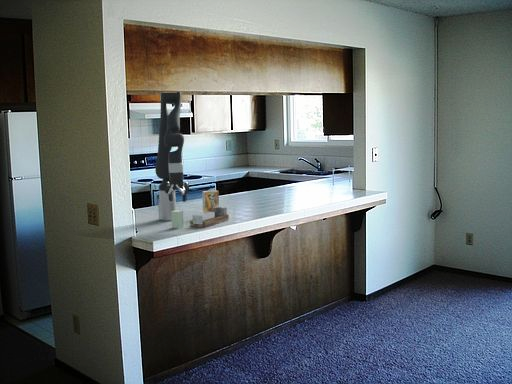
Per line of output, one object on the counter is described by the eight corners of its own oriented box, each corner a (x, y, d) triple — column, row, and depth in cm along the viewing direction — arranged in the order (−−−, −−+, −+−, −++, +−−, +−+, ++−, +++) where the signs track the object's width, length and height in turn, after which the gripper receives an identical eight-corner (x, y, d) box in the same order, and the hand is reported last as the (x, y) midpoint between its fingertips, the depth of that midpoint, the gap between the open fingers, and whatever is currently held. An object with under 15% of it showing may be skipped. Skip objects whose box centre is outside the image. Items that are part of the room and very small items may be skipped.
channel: (190, 226, 328) (189, 213, 327) (214, 218, 349) (213, 206, 348) (205, 227, 323) (204, 214, 322) (228, 219, 344) (228, 207, 343)
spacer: (171, 227, 325) (171, 211, 324) (176, 226, 329) (176, 210, 328) (178, 228, 323) (178, 211, 321) (183, 226, 327) (183, 210, 325)
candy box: (216, 215, 358) (215, 189, 356) (219, 216, 355) (218, 190, 353) (202, 217, 354) (201, 191, 352) (206, 218, 350) (205, 192, 348)
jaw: (192, 223, 327) (192, 214, 326) (205, 219, 337) (204, 211, 337) (202, 224, 324) (202, 215, 323) (214, 220, 334) (214, 212, 334)
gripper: (160, 171, 322) (162, 202, 324) (183, 172, 315) (184, 203, 317) (169, 170, 328) (171, 200, 330) (191, 170, 322) (192, 200, 324)
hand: (177, 201), depth 324 cm, fingers open, 8 cm apart
